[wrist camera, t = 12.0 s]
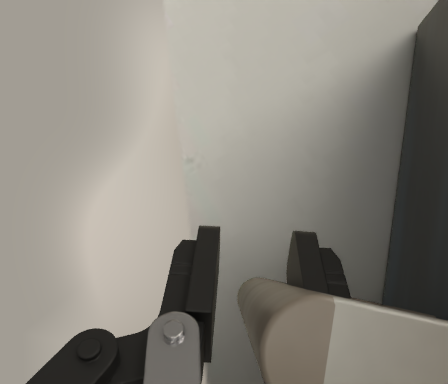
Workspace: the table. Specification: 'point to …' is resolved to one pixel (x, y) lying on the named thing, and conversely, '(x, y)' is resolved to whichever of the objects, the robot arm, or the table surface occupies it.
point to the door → (396, 269)
